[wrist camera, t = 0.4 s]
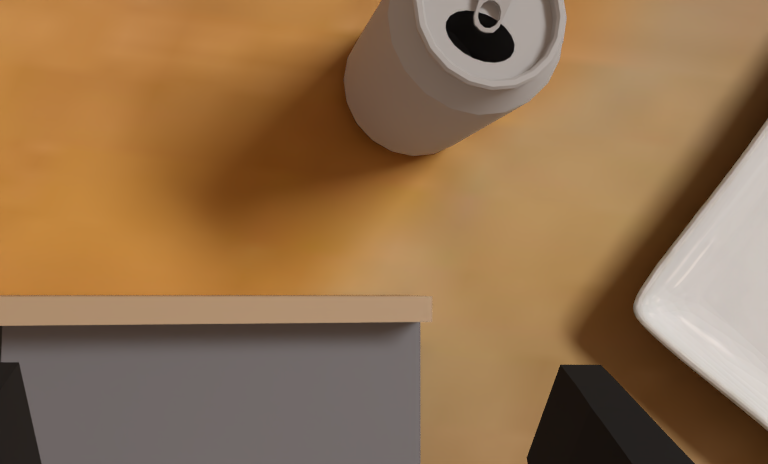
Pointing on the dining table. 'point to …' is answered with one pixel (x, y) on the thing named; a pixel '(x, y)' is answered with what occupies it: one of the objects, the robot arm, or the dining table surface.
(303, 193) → the dining table surface
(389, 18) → the can
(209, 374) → the box
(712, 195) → the square plate
